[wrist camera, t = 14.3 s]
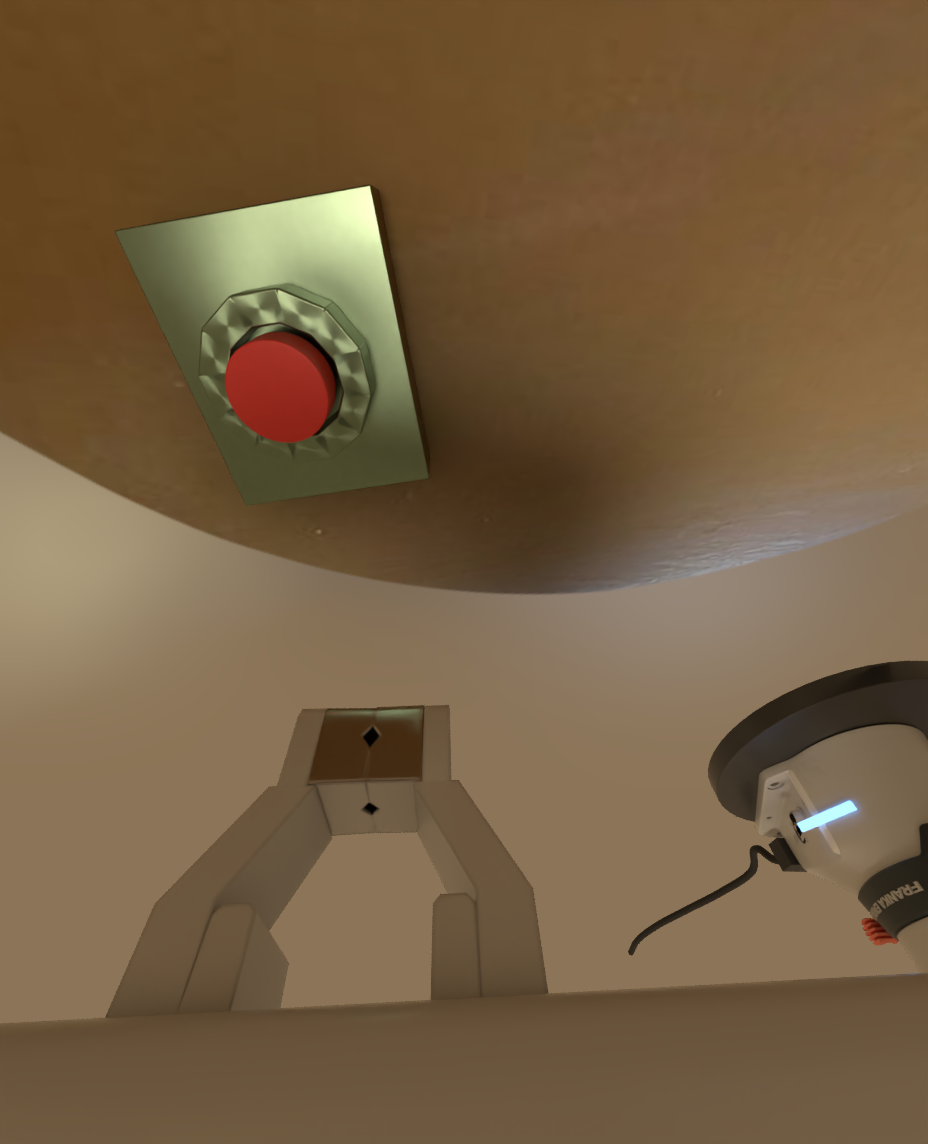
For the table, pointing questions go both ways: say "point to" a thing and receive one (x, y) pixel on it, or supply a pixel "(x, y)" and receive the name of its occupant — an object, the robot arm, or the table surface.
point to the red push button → (280, 386)
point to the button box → (301, 307)
